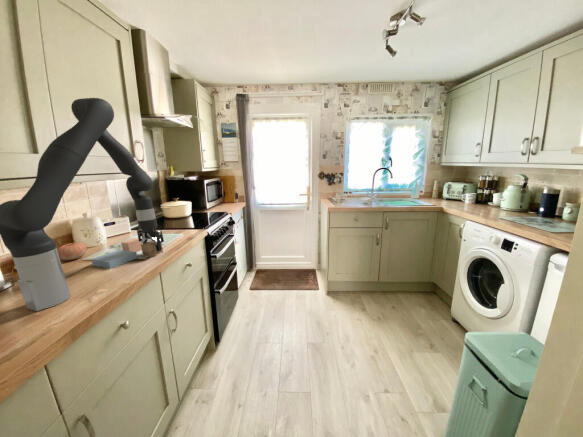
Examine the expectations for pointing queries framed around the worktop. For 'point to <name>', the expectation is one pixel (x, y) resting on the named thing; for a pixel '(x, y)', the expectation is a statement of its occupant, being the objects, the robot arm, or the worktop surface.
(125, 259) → the base plate
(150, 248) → the walnut brick
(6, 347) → the worktop surface
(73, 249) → the reddish brown rounded lump
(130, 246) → the terracotta brick
